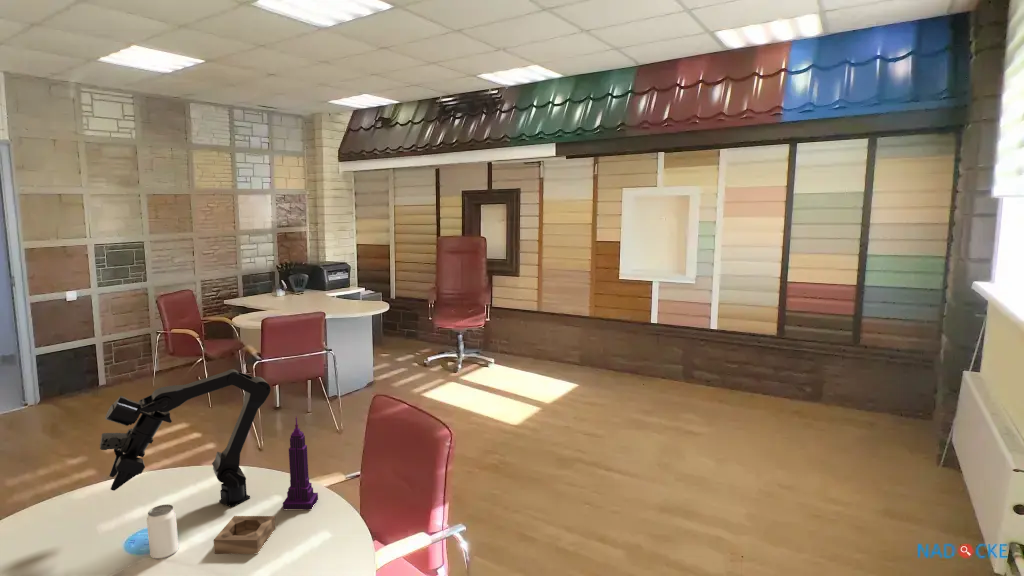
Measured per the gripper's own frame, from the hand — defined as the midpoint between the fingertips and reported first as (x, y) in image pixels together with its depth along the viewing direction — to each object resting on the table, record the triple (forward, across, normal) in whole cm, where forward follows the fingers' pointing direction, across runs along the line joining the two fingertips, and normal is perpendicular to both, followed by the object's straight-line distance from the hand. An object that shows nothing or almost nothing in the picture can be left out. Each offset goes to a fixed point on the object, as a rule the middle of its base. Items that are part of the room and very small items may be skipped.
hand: (111, 483), depth 156 cm
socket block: (-3, +25, +32) cm, 41 cm away
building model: (-12, +15, +47) cm, 51 cm away
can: (+7, +18, +16) cm, 25 cm away
